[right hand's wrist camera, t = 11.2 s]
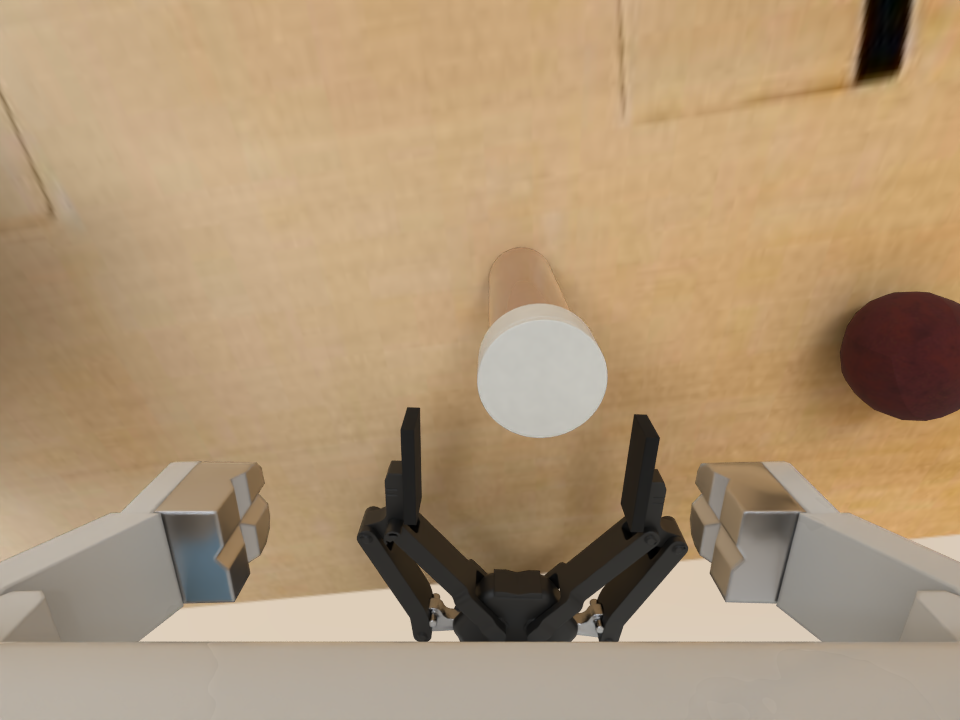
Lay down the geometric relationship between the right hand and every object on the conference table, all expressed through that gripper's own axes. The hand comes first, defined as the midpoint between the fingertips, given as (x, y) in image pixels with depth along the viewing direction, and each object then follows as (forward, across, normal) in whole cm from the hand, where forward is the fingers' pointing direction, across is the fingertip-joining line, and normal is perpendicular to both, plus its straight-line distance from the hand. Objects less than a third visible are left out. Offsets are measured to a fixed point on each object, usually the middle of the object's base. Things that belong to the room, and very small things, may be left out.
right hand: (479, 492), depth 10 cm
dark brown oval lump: (+26, -26, +5) cm, 37 cm away
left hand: (+19, -3, +8) cm, 21 cm away
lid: (+10, -2, +2) cm, 11 cm away
